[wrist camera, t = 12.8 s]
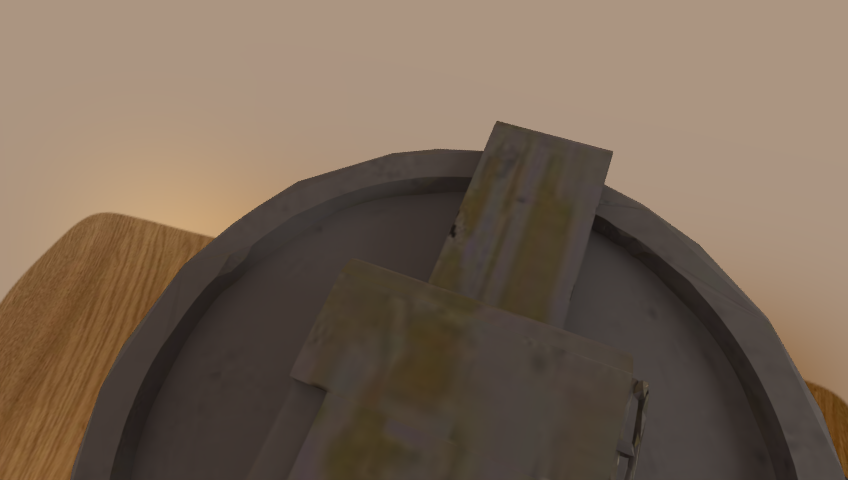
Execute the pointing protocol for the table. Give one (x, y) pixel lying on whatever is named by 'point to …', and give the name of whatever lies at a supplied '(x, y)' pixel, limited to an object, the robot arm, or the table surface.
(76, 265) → the table surface
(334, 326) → the canister
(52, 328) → the table surface
